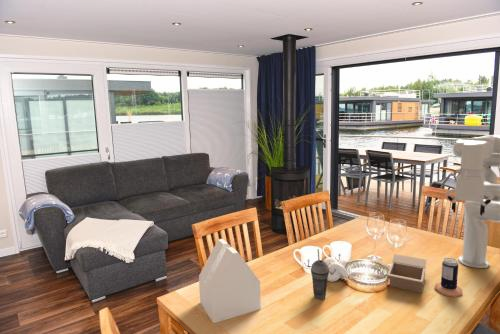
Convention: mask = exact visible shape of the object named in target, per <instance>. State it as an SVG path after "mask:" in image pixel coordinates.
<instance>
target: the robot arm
mask: <svg viewBox="0 0 500 334" xmlns="http://www.w3.org/2000/svg"><path fill="white" fill-rule="evenodd" d="M452 152H453V154H454V156H455V157H457V158H459V159H460V168H458V169H456V172H455V173H457V174H458V176H457V178H456V182H455V188H452V189H448V190H446V191H445V196H446V197H447V199H448V201H450V202H451V211H453V213H456V209H457V205H456V204H457V201H458V200H459V201H464V205H463V211H464V231H463V243H462V245H463V246H462V254H461V255H460V256H458V260H457V261H458V262H459V263H460V264H462V265H463V266H466V267H470V268H474V269H486V268H488V267H490V261H488V260H487V252H488V251H487V250H488V242H489V241H488V240H489V227H488V225H487V223H486V222H485V221H488V222H494V223H500V182H498V175H497V174H496V173H495V171H493V169H492V168H490V167H493V168H500V134H487V135H483V136H479V137H469V138H460V139H457V140H456V141H455V142H454V144H453V147H452ZM453 193H454V197H452V196H451V194H453Z"/></svg>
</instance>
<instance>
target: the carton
mask: <svg viewBox="0 0 500 334" xmlns="http://www.w3.org/2000/svg"><path fill="white" fill-rule="evenodd" d="M426 264H427V259H424V258H418V257H412V256H407V255H400V254H395V253H394V254H393V257H392V261H391V265H390V267H389V269H388V272H387V273H386V274H385V276H386V279H387V278H390V284H389V287H393V288H398V289H402V290H408V291H412V292H417V293H423V290H424V285H425V279H426V277H425V276H426V267H427V266H426Z"/></svg>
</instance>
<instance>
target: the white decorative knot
mask: <svg viewBox="0 0 500 334" xmlns="http://www.w3.org/2000/svg"><path fill="white" fill-rule="evenodd" d="M323 261H324V262H325V263H326V264H327V265H328V268H329V274H328V279H327V282H328V281H329V282H336V281H338V280H339V279H341V280H343V279H344V278H346V277H348V276H349V277H350V274H349V272H348V270H347V269H346V264H347V259H346V258H344V257H340V258H339V259H338V260H337V259H335V257H326V258H325V259H324V260H323Z"/></svg>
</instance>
